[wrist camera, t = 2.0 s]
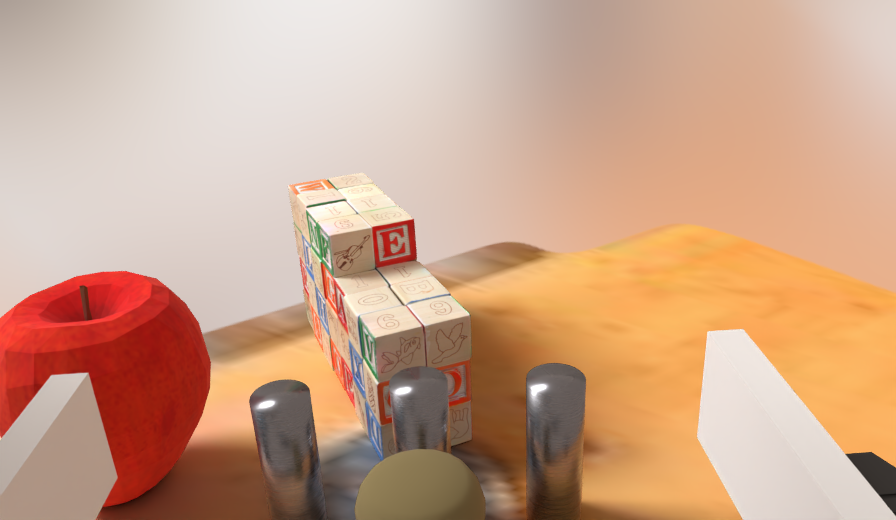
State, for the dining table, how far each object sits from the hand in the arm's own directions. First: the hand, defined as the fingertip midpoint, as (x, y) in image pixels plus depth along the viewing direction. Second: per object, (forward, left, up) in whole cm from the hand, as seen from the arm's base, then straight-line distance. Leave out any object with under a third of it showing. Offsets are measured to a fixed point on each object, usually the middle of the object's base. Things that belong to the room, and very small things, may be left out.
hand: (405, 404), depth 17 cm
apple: (-18, +24, -21) cm, 37 cm away
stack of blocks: (-4, +35, -22) cm, 41 cm away
